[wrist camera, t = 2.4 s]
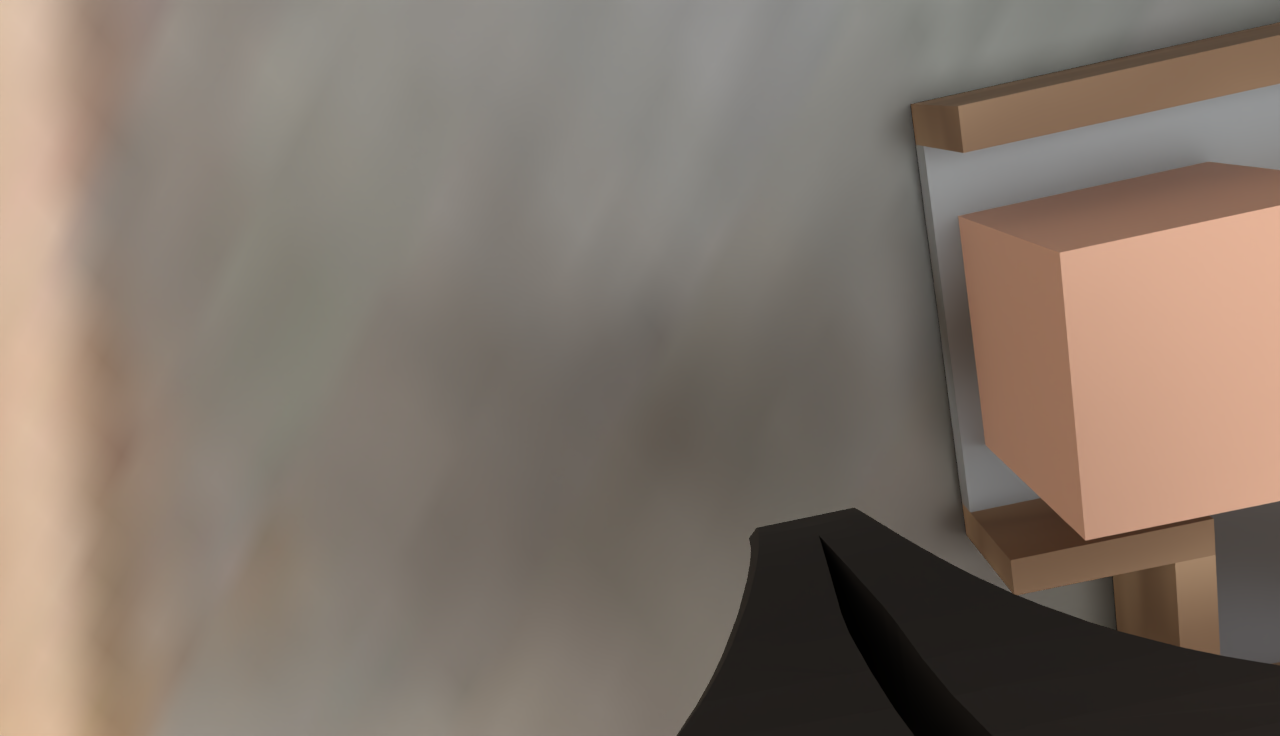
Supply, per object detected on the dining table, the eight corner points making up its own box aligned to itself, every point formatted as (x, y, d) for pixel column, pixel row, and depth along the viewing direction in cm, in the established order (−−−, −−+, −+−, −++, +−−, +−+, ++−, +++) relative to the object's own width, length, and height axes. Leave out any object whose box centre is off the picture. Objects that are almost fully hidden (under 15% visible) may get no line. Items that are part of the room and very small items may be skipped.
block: (1218, 396, 20) (1383, 479, 16) (984, 445, 20) (1085, 540, 16) (1208, 161, 19) (1385, 182, 14) (958, 216, 19) (1059, 253, 15)
